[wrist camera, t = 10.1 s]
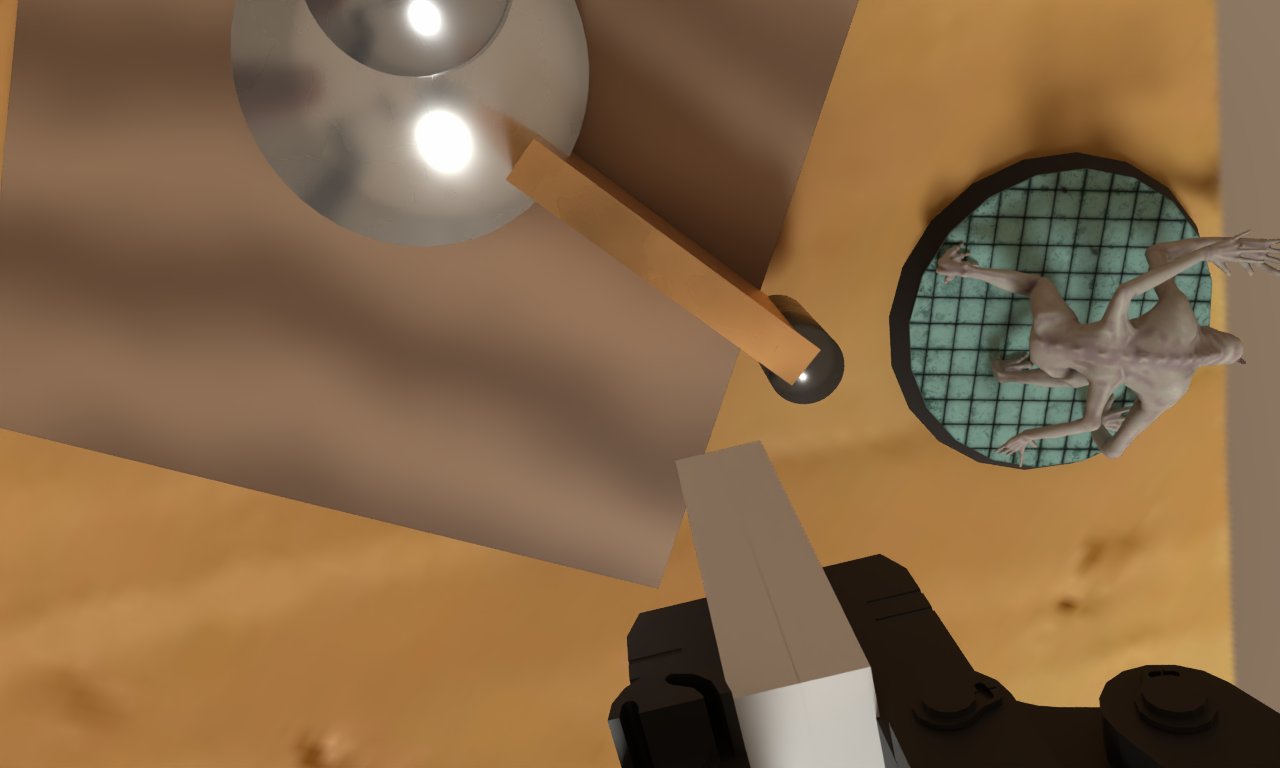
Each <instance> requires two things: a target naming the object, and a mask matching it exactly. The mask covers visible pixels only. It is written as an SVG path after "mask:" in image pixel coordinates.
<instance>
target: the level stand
mask: <svg viewBox="0 0 1280 768" xmlns="http://www.w3.org/2000/svg"><path fill="white" fill-rule="evenodd" d="M858 1H859V0H575V3H576V5H577V8H578V11H579V14H580V17H581V20H582V23H583V28H584V32H585V37H586V41H587V46H588V54H589V65H590V84H589V96H588V103H587V109H586V114H585V117H584V121H583V124H582V128H581V131H580V134H579V136H578V139H577V141H576V143H575V146H574V148H573V150H572V152H573V153H575V154H576V155H577V156H579V157H580V158H581V159H583V160H584V161H586V162H587V163H588V164H590V165H591V166H592V167H594V168H595V169H596V170H598V171H599V172H600V173H602V174H603V175H604V176H606V177H607V178H609V179H610V180H611V181H613V182H614V183H615V184H617V185H618V186H619V187H621V188H622V189H623V190H625V191H626V192H627V193H629V194H630V195H632V196H633V197H634V198H636V199H637V200H638V201H640V202H641V203H642V204H644V205H645V206H646V207H648V208H649V209H650V210H652V211H653V212H654V213H656V214H657V215H659V216H660V217H661V218H663V219H664V220H665V221H667V222H668V223H669V224H671V225H672V226H673V227H675V228H676V229H677V230H679V231H680V232H682V233H683V234H684V235H686V236H687V237H688V238H690V239H691V240H692V241H694V242H695V243H696V244H698V245H699V246H700V247H702V248H703V249H704V250H706V251H707V252H709V253H710V254H711V255H713V256H714V257H715V258H717V259H718V260H719V261H721V262H722V263H723V264H725V265H726V266H727V267H729V268H730V269H732V270H733V271H734V272H736V273H737V274H738V275H740V276H741V277H742V278H744V279H745V280H746V281H748V282H749V283H750V284H752V285H753V286H755V287H756V288H757V289H759V290H760V289H761V286H762V283H763V280H764V277H765V274H766V271H767V268H768V266H769V263H770V260H771V257H772V254H773V251H774V248H775V245H776V242H777V239H778V236H779V233H780V230H781V227H782V224H783V221H784V219H785V216H786V213H787V210H788V207H789V204H790V201H791V198H792V195H793V192H794V189H795V186H796V183H797V180H798V177H799V175H800V172H801V169H802V166H803V163H804V160H805V157H806V154H807V151H808V148H809V145H810V142H811V139H812V136H813V133H814V130H815V128H816V125H817V122H818V119H819V116H820V113H821V110H822V107H823V104H824V101H825V98H826V95H827V92H828V89H829V86H830V83H831V81H832V78H833V75H834V72H835V69H836V66H837V63H838V60H839V57H840V54H841V51H842V48H843V45H844V42H845V39H846V37H847V34H848V31H849V28H850V25H851V22H852V19H853V16H854V13H855V10H856V7H857V4H858ZM235 2H236V0H18V10H17V21H16V31H15V42H14V53H13V63H12V74H11V85H10V95H9V106H8V117H7V127H6V138H5V149H4V159H3V170H2V181H1V191H0V428H3V429H7V430H11V431H15V432H19V433H23V434H27V435H31V436H35V437H39V438H44V439H48V440H52V441H56V442H60V443H64V444H68V445H72V446H76V447H80V448H84V449H89V450H93V451H97V452H101V453H105V454H109V455H113V456H117V457H121V458H125V459H129V460H134V461H138V462H142V463H146V464H150V465H154V466H158V467H162V468H166V469H170V470H175V471H179V472H183V473H187V474H191V475H195V476H199V477H203V478H207V479H211V480H215V481H220V482H224V483H228V484H232V485H236V486H240V487H244V488H248V489H252V490H256V491H260V492H265V493H269V494H273V495H277V496H281V497H285V498H289V499H293V500H297V501H301V502H306V503H310V504H314V505H318V506H322V507H326V508H330V509H334V510H338V511H342V512H346V513H351V514H355V515H359V516H363V517H367V518H371V519H375V520H379V521H383V522H387V523H391V524H396V525H400V526H404V527H408V528H412V529H416V530H420V531H424V532H428V533H432V534H437V535H441V536H445V537H449V538H453V539H457V540H461V541H465V542H469V543H473V544H477V545H482V546H486V547H490V548H494V549H498V550H502V551H506V552H510V553H514V554H518V555H522V556H527V557H531V558H535V559H539V560H543V561H547V562H551V563H555V564H559V565H563V566H568V567H572V568H576V569H580V570H584V571H588V572H592V573H596V574H600V575H604V576H608V577H613V578H617V579H621V580H625V581H629V582H633V583H637V584H641V585H645V586H649V587H654V588H658V589H659V586H660V583H661V580H662V577H663V574H664V571H665V568H666V565H667V562H668V559H669V556H670V553H671V550H672V547H673V544H674V542H675V539H676V536H677V533H678V530H679V527H680V524H681V521H682V518H683V515H684V512H685V509H686V505H685V501H684V496H683V492H682V488H681V483H680V479H679V474H678V470H677V466H676V460H681V459H685V458H689V457H693V456H697V455H701V454H704V453H705V451H706V448H707V445H708V442H709V439H710V436H711V433H712V430H713V427H714V424H715V421H716V418H717V415H718V412H719V409H720V406H721V404H722V401H723V398H724V395H725V392H726V389H727V386H728V383H729V380H730V377H731V374H732V371H733V368H734V365H735V362H736V359H737V357H738V354H739V351H740V348H739V347H737V346H736V345H735V344H733V343H732V342H731V341H729V340H728V339H726V338H725V337H724V336H722V335H721V334H719V333H718V332H717V331H715V330H714V329H712V328H711V327H710V326H708V325H707V324H705V323H704V322H703V321H701V320H700V319H698V318H697V317H696V316H694V315H693V314H692V313H690V312H689V311H687V310H686V309H685V308H683V307H682V306H680V305H679V304H678V303H676V302H675V301H673V300H672V299H671V298H669V297H668V296H666V295H665V294H664V293H662V292H661V291H660V290H658V289H657V288H655V287H654V286H653V285H651V284H650V283H648V282H647V281H646V280H644V279H643V278H641V277H640V276H639V275H637V274H636V273H634V272H633V271H632V270H630V269H629V268H628V267H626V266H625V265H623V264H622V263H621V262H619V261H618V260H616V259H615V258H614V257H612V256H611V255H609V254H608V253H607V252H605V251H604V250H602V249H601V248H600V247H598V246H597V245H596V244H594V243H593V242H591V241H590V240H589V239H587V238H586V237H584V236H583V235H582V234H580V233H579V232H577V231H576V230H575V229H573V228H572V227H570V226H569V225H568V224H566V223H565V222H564V221H562V220H561V219H559V218H558V217H557V216H555V215H554V214H552V213H551V212H550V211H548V210H547V209H545V208H544V207H543V206H541V205H540V204H538V203H537V202H535V203H534V204H533V205H532V206H531V207H530V208H529V209H527V210H526V211H525V212H523V213H522V214H520V215H519V216H518V217H516V218H515V219H514V220H512V221H511V222H509V223H507V224H505V225H504V226H502V227H500V228H498V229H496V230H494V231H492V232H490V233H488V234H485V235H482V236H480V237H477V238H474V239H472V240H468V241H463V242H459V243H455V244H450V245H440V246H430V247H424V246H404V245H398V244H392V243H386V242H382V241H378V240H375V239H371V238H368V237H365V236H362V235H359V234H357V233H355V232H353V231H350V230H348V229H346V228H343V227H341V226H339V225H338V224H336V223H334V222H333V221H331V220H329V219H328V218H326V217H324V216H322V215H321V214H319V213H318V212H317V211H316V210H314V209H313V208H312V207H310V206H309V205H308V204H306V203H305V202H304V201H302V200H301V199H300V198H299V197H298V196H297V195H296V194H295V193H294V192H293V191H292V190H291V189H290V188H289V187H288V186H287V185H286V184H285V183H284V182H283V181H282V179H281V178H280V177H279V176H278V174H277V173H276V172H275V171H274V169H273V168H272V167H271V166H270V165H269V163H268V161H267V160H266V158H265V157H264V155H263V154H262V152H261V150H260V149H259V147H258V146H257V144H256V142H255V140H254V138H253V136H252V134H251V132H250V130H249V127H248V125H247V123H246V121H245V118H244V115H243V112H242V109H241V106H240V103H239V100H238V97H237V92H236V88H235V83H234V78H233V72H232V60H231V27H232V19H233V14H234V8H235Z"/></svg>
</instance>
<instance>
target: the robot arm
mask: <svg viewBox="0 0 1280 768" xmlns="http://www.w3.org/2000/svg"><path fill="white" fill-rule="evenodd" d="M676 466H677V470H678V474H679V479H680V483H681V488H682V492H683V496H684V501H685V505H686V510H687V514H688V518H689V523H690V527H691V531H692V536H693V540H694V545H695V549H696V553H697V558H698V562H699V567H700V571H701V575H702V580H703V584H704V589H705V593H706V597H707V598H702V599H698V600H694V601H690V602H686V603H681V604H677V605H673V606H669V607H664V608H660V609H656V610H652V611H647V612H643V613H640V614H639V615H638V617H637V619H636V621H635V623H634V625H633V627H632V628H631V630H630V632H629V634H628V636H627V647H628V661H629V679H630V685H629V686H627V687H626V688H625V689H624V690H623V691H622V692H621V693H620V695H619V696H618V697H617V698H616V700H615V701H614V702H613V703H612V706H611V710H610V714H609V718H608V723H609V727H610V730H611V733H612V737H613V740H614V743H615V747H616V750H617V753H618V757H619V760H620V764H621V767H622V768H1280V714H1279V713H1278V712H1276V711H1275V710H1273V709H1271V708H1270V707H1268V706H1266V705H1265V704H1263V703H1262V702H1260V701H1258V700H1257V699H1255V698H1253V697H1252V696H1250V695H1249V694H1247V693H1245V692H1244V691H1242V690H1241V689H1239V688H1237V687H1236V686H1234V685H1232V684H1231V683H1229V682H1227V681H1225V680H1223V679H1220V678H1218V677H1216V676H1214V675H1211V674H1209V673H1207V672H1205V671H1202V670H1197V669H1192V668H1187V667H1182V666H1177V665H1145V666H1141V667H1138V668H1134V669H1130V670H1126V671H1123V672H1121V673H1120V674H1118V675H1117V676H1115V677H1114V678H1112V679H1111V680H1110V681H1108V682H1107V683H1106V684H1105V687H1104V689H1103V691H1102V693H1101V695H1100V698H1099V701H1100V707H1049V706H1037V705H1032V704H1028V703H1024V702H1020V701H1016V700H1015V698H1014V697H1013V695H1012V694H1011V693H1010V692H1009V691H1008V690H1007V689H1006V688H1005V687H1004V686H1002V685H1001V684H1000V683H999V682H998V681H997V680H995V679H993V678H990V677H988V676H986V675H983V674H981V673H979V672H976V671H974V669H973V668H972V666H971V665H970V663H969V662H968V660H967V659H966V657H965V656H964V654H963V653H962V651H961V650H960V648H959V647H958V645H957V644H956V642H955V641H954V639H953V638H952V636H951V635H950V633H949V632H948V630H947V629H946V627H945V626H944V624H943V623H942V621H941V620H940V618H939V617H938V615H937V614H936V612H935V611H933V610H932V606H931V605H930V603H929V602H928V600H927V599H926V597H925V596H924V594H923V593H921V591H920V588H919V587H918V585H917V584H916V582H915V581H914V579H913V578H912V576H911V575H910V573H909V572H908V570H907V569H906V568H905V567H903V566H901V565H899V564H898V563H896V562H894V561H892V560H890V559H889V558H887V557H885V556H883V555H881V554H877V555H873V556H869V557H865V558H860V559H856V560H852V561H848V562H844V563H839V564H835V565H831V566H827V567H822V566H821V564H820V562H819V560H818V558H817V556H816V554H815V552H814V550H813V548H812V546H811V544H810V542H809V539H808V537H807V535H806V533H805V531H804V529H803V527H802V525H801V523H800V521H799V519H798V517H797V515H796V513H795V511H794V509H793V507H792V505H791V503H790V500H789V498H788V496H787V494H786V492H785V490H784V488H783V486H782V484H781V482H780V480H779V478H778V476H777V474H776V472H775V470H774V468H773V466H772V463H771V461H770V459H769V457H768V455H767V453H766V451H765V449H764V447H763V445H762V443H761V441H756V442H751V443H747V444H743V445H739V446H735V447H731V448H726V449H722V450H718V451H714V452H710V453H706V454H701V455H697V456H693V457H689V458H685V459H681V460H676Z"/></svg>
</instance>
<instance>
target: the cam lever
mask: <svg viewBox="0 0 1280 768" xmlns="http://www.w3.org/2000/svg"><path fill="white" fill-rule="evenodd" d="M231 60H232V72H233V78H234V83H235V88H236V92H237V97H238V100H239V103H240V106H241V109H242V112H243V115H244V118H245V121H246V123H247V125H248V127H249V130H250V132H251V134H252V136H253V138H254V140H255V142H256V144H257V146H258V147H259V149H260V150H261V152H262V154H263V155H264V157H265V158H266V160H267V161H268V163H269V165H270V166H271V167H272V168H273V169H274V171H275V172H276V173H277V174H278V176H279V177H280V178H281V179H282V181H283V182H284V183H285V184H286V185H287V186H288V187H289V188H290V189H291V190H292V191H293V192H294V193H295V194H296V195H297V196H298V197H299V198H300V199H301V200H302V201H304V202H305V203H306V204H308V205H309V206H310V207H312V208H313V209H314V210H316V211H317V212H318V213H319V214H321V215H322V216H324V217H326V218H328V219H329V220H331V221H333V222H334V223H336V224H338V225H339V226H341V227H343V228H346V229H348V230H350V231H353V232H355V233H357V234H359V235H362V236H365V237H368V238H371V239H375V240H378V241H382V242H386V243H392V244H398V245H404V246H424V247H430V246H440V245H450V244H455V243H459V242H463V241H468V240H472V239H474V238H477V237H480V236H482V235H485V234H488V233H490V232H492V231H494V230H496V229H498V228H500V227H502V226H504V225H505V224H507V223H509V222H511V221H512V220H514V219H515V218H516V217H518V216H519V215H520V214H522V213H523V212H525V211H526V210H527V209H529V208H530V207H531V206H532V205H533V204H534V203H535V202H537V203H538V204H540V205H541V206H543V207H544V208H545V209H547V210H548V211H550V212H551V213H552V214H554V215H555V216H557V217H558V218H559V219H561V220H562V221H564V222H565V223H566V224H568V225H569V226H570V227H572V228H573V229H575V230H576V231H577V232H579V233H580V234H582V235H583V236H584V237H586V238H587V239H589V240H590V241H591V242H593V243H594V244H596V245H597V246H598V247H600V248H601V249H602V250H604V251H605V252H607V253H608V254H609V255H611V256H612V257H614V258H615V259H616V260H618V261H619V262H621V263H622V264H623V265H625V266H626V267H628V268H629V269H630V270H632V271H633V272H634V273H636V274H637V275H639V276H640V277H641V278H643V279H644V280H646V281H647V282H648V283H650V284H651V285H653V286H654V287H655V288H657V289H658V290H660V291H661V292H662V293H664V294H665V295H666V296H668V297H669V298H671V299H672V300H673V301H675V302H676V303H678V304H679V305H680V306H682V307H683V308H685V309H686V310H687V311H689V312H690V313H692V314H693V315H694V316H696V317H697V318H698V319H700V320H701V321H703V322H704V323H705V324H707V325H708V326H710V327H711V328H712V329H714V330H715V331H717V332H718V333H719V334H721V335H722V336H724V337H725V338H726V339H728V340H729V341H731V342H732V343H733V344H735V345H736V346H737V347H739V348H740V349H742V350H743V351H744V352H746V353H747V354H749V355H750V356H751V357H753V358H754V359H756V360H757V361H758V362H759V364H760V366H761V367H762V369H763V371H764V373H765V374H766V376H767V378H768V380H769V381H770V383H771V385H772V386H773V388H774V389H775V391H776V392H777V393H778V394H779V395H780V396H781V397H783V398H784V399H786V400H788V401H790V402H793V403H798V404H810V403H815V402H818V401H820V400H822V399H824V398H826V397H827V396H829V395H830V394H831V393H832V392H833V391H834V390H835V389H836V388H837V386H838V385H839V383H840V381H841V379H842V376H843V372H844V357H843V354H842V351H841V349H840V347H839V346H838V344H837V343H836V342H835V341H834V340H833V339H832V338H831V337H830V336H829V335H828V334H827V332H826V331H825V330H824V329H823V328H822V327H821V326H820V325H819V324H818V323H817V322H816V321H815V320H814V319H813V318H812V316H811V315H810V314H809V313H808V312H807V311H806V310H805V309H804V308H803V307H802V306H801V305H800V304H799V303H798V302H797V301H796V300H794V299H792V298H790V297H788V296H784V295H771V296H767V295H765V294H764V293H763V292H761V291H760V290H759V289H757V288H756V287H755V286H753V285H752V284H750V283H749V282H748V281H746V280H745V279H744V278H742V277H741V276H740V275H738V274H737V273H736V272H734V271H733V270H732V269H730V268H729V267H727V266H726V265H725V264H723V263H722V262H721V261H719V260H718V259H717V258H715V257H714V256H713V255H711V254H710V253H709V252H707V251H706V250H704V249H703V248H702V247H700V246H699V245H698V244H696V243H695V242H694V241H692V240H691V239H690V238H688V237H687V236H686V235H684V234H683V233H682V232H680V231H679V230H677V229H676V228H675V227H673V226H672V225H671V224H669V223H668V222H667V221H665V220H664V219H663V218H661V217H660V216H659V215H657V214H656V213H654V212H653V211H652V210H650V209H649V208H648V207H646V206H645V205H644V204H642V203H641V202H640V201H638V200H637V199H636V198H634V197H633V196H632V195H630V194H629V193H627V192H626V191H625V190H623V189H622V188H621V187H619V186H618V185H617V184H615V183H614V182H613V181H611V180H610V179H609V178H607V177H606V176H604V175H603V174H602V173H600V172H599V171H598V170H596V169H595V168H594V167H592V166H591V165H590V164H588V163H587V162H586V161H584V160H583V159H581V158H580V157H579V156H577V155H576V154H575V153H573V152H572V150H573V148H574V146H575V143H576V141H577V139H578V136H579V134H580V131H581V128H582V124H583V121H584V117H585V114H586V109H587V103H588V96H589V84H590V65H589V54H588V46H587V41H586V37H585V32H584V28H583V23H582V20H581V17H580V14H579V11H578V8H577V5H576V3H575V0H236V2H235V8H234V14H233V19H232V27H231Z"/></svg>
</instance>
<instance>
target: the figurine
mask: <svg viewBox="0 0 1280 768" xmlns="http://www.w3.org/2000/svg"><path fill="white" fill-rule="evenodd" d="M1250 231H1251V230H1248V231H1246V232H1243V233H1241V234H1239V235H1236V236H1234V237H1200V236H1199V233H1198V229H1197V226H1196V225H1195V223H1194V222H1193V221H1192V219H1191V218H1190V217H1189V215H1188V214H1187V213H1186V211H1185V210H1184V209H1183V207H1182V206H1181V205H1180V203H1179V202H1178V200H1177V199H1176V198H1175V196H1174V195H1173V194H1172V192H1171V191H1170V190H1169V188H1167V187H1166V186H1164V185H1163V184H1161V183H1159V182H1158V181H1156V180H1155V179H1153V178H1151V177H1150V176H1148V175H1146V174H1145V173H1143V172H1142V171H1140V170H1138V169H1137V168H1135V167H1134V166H1132V165H1130V164H1129V163H1127V162H1123V161H1118V160H1113V159H1108V158H1103V157H1097V156H1092V155H1087V154H1082V153H1077V152H1076V153H1069V154H1062V155H1054V156H1047V157H1040V158H1033V159H1025V160H1022V161H1020V162H1018V163H1016V164H1013V165H1011V166H1009V167H1007V168H1005V169H1003V170H1001V171H999V172H997V173H994V174H992V175H990V176H988V177H986V178H984V179H982V180H980V181H978V182H975V183H973V184H972V185H971V186H970V187H969V188H968V189H967V190H965V191H964V192H963V193H962V194H961V195H960V196H959V197H958V198H956V199H955V200H954V201H953V202H952V203H951V204H950V205H949V206H947V207H946V208H945V209H944V210H943V211H942V212H941V213H940V214H939V215H937V216H936V217H935V218H934V219H933V220H932V221H931V222H930V224H929V226H928V227H927V229H926V230H925V232H924V234H923V235H922V237H921V238H920V240H919V242H918V243H917V245H916V246H915V248H914V250H913V251H912V253H911V254H910V256H909V258H908V259H907V261H906V262H905V264H904V266H903V267H902V271H901V275H900V279H899V282H898V286H897V290H896V293H895V297H894V301H893V304H892V308H891V312H890V315H889V325H890V345H891V365H892V368H893V370H894V373H895V375H896V378H897V380H898V383H899V385H900V388H901V390H902V392H903V395H904V397H905V400H906V402H907V405H908V407H909V409H910V410H911V411H912V412H913V413H914V414H915V415H916V417H917V418H918V419H919V420H920V421H921V422H922V423H923V424H924V425H925V426H926V428H927V429H928V430H929V431H930V432H931V433H932V434H933V435H934V436H935V437H936V439H937V440H938V441H939V442H941V443H943V444H945V445H947V446H949V447H951V448H953V449H955V450H956V451H958V452H960V453H962V454H964V455H966V456H968V457H970V458H972V459H974V460H975V461H977V462H980V463H986V464H993V465H999V466H1005V467H1011V468H1017V469H1023V470H1026V469H1033V468H1040V467H1048V466H1055V465H1062V464H1070V463H1074V462H1078V461H1083V460H1085V459H1087V458H1090V457H1092V456H1095V455H1097V454H1099V453H1101V452H1102V453H1103V454H1104V455H1105V456H1107V457H1108V458H1116V457H1118V456H1120V455H1122V453H1123V451H1124V449H1126V448H1127V447H1128V446H1129V445H1130V444H1131V442H1132V441H1133V440H1134V438H1135V437H1136V436H1137V435H1138V434H1139V433H1141V432H1142V431H1143V430H1144V429H1146V428H1147V427H1148V426H1149V425H1150V424H1151V423H1152V422H1153V421H1154V420H1156V419H1157V418H1158V417H1159V416H1160V415H1161V414H1162V413H1163V412H1164V411H1165V410H1166V409H1168V408H1170V407H1173V405H1174V404H1175V403H1176V402H1177V401H1178V400H1179V399H1180V398H1181V397H1182V396H1183V395H1184V394H1185V393H1186V392H1187V391H1188V388H1189V385H1190V382H1191V378H1192V376H1193V374H1194V373H1195V371H1196V369H1198V368H1199V367H1201V366H1212V365H1219V364H1232V363H1233V362H1235V361H1238V362H1240V363H1241V364H1246V362H1245V361H1244V360H1243V359H1241V358H1240V357H1241V355H1242V353H1243V346H1242V343H1241V341H1240V339H1239V338H1238V337H1236V336H1234V335H1232V334H1229V333H1225V332H1221V331H1218V330H1216V329H1214V328H1211V327H1209V325H1210V309H1211V293H1212V279H1211V276H1210V272H1209V268H1208V265H1207V261H1210V262H1213V263H1214V264H1215V265H1216V266H1217V267H1218V268H1220V269H1221V270H1222V271H1224V272H1225V273H1226V274H1227V275H1228V276H1230V275H1231V271H1230V270H1229V269H1228V268H1227V267H1226V265H1225V263H1226V262H1237V263H1239V264H1240V265H1241V266H1242V267H1244V268H1245V270H1246V271H1247V272H1248V273H1249V275H1250V276H1252V273H1253V272H1254V271H1253V269H1252V268H1251V266H1250V263H1252V264H1253V265H1255V266H1257V267H1260V268H1263V269H1265V270H1266V271H1268V272H1270V273H1272V274H1274V275H1277V276H1279V277H1280V271H1279V270H1277V269H1275V268H1273V267H1271V266H1269V265H1267V264H1266V263H1264V260H1267V261H1270V262H1274V263H1277V264H1280V259H1279V258H1275V257H1271V256H1268V255H1267V253H1276V254H1280V249H1275V248H1271V247H1270V245H1271V244H1277V243H1280V239H1269V240H1267V239H1251V238H1240V237H1242V236H1244V235H1246V234H1248V233H1249V232H1250Z"/></svg>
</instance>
